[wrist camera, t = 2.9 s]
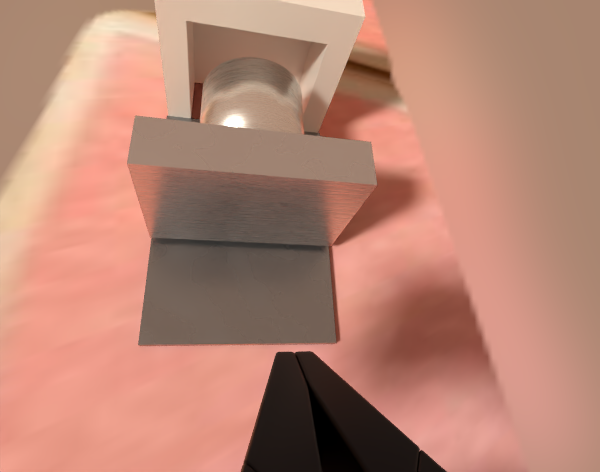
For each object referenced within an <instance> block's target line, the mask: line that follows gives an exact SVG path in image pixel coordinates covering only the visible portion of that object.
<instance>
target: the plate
mask: <svg viewBox="0 0 600 472" xmlns="http://www.w3.org/2000/svg"><path fill="white" fill-rule="evenodd" d="M167 119H170V120H179V121H188V122H197V123H200V119H192V118H183V117H174V116H167ZM304 135H313V136H320V133H315V132H306V131H304ZM335 343H336V333H335V320H334V308H333V295H332V283H331V270H330V258H329V246H316V245H295V244H274V243H253V242H232V241H211V240H190V239H169V238H152V239H151V247H150V255H149V263H148V271H147V279H146V287H145V295H144V303H143V311H142V319H141V327H140V335H139V343H138V345H139V346H189V345H285V344H335Z"/></svg>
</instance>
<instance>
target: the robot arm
mask: <svg viewBox="0 0 600 472" xmlns="http://www.w3.org/2000/svg"><path fill="white" fill-rule="evenodd" d="M419 450H420V449H419V447H418V446H417V445H416V444H415V443H414V442H412V441H411V440H410V439H409V438H408V437H407V436H406V435H405V434H404V433H402V432H401V431H400V430H399V429H398V428H397V427H396V426H395V425H394V424H392V423H391V422H390V421H389V420H388V419H387V418H386V417H385V416H383V415H382V414H381V413H380V412H379V411H378V410H377V409H376V408H375V407H373V406H372V405H371V404H370V403H369V402H368V401H367V400H366V399H365V398H363V397H362V396H361V395H360V394H359V393H358V392H357V391H356V390H354V389H353V388H352V387H351V386H350V385H349V384H348V383H347V382H346V381H344V380H343V379H342V378H341V377H340V376H339V375H338V374H337V373H336V372H334V371H333V370H332V369H331V368H330V367H329V366H328V365H327V364H326V363H324V362H323V361H322V360H321V359H320V358H319V357H318V356H317V355H315V354H314V353H313V352H310V351H306V352H296V353H295V354H294V353H293V352H278V353H276V356H275V359H274V362H273V366H272V369H271V373H270V376H269V379H268V383H267V386H266V389H265V393H264V396H263V399H262V403H261V406H260V409H259V413H258V416H257V419H256V423H255V426H254V429H253V433H252V436H251V440H250V443H249V446H248V450H247V453H246V456H245V460H244V464H243V466H242V469H241V472H446V471H445V470H444V469H443V468H442V467H441V466H440V465H438V464H437V463H436V462H435V461H434V460H433V459H432V458H430V457H429V456H428V455H427V454H426V453H425V452H424V451H422V450H421V451H420V452H419Z"/></svg>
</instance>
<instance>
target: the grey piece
mask: <svg viewBox="0 0 600 472" xmlns="http://www.w3.org/2000/svg"><path fill="white" fill-rule="evenodd" d="M127 165H128V168H129V171H130V174H131V178H132V181H133V184H134V187H135V190H136V194H137V197H138V200H139V203H140V207H141V210H142V213H143V216H144V219H145V223H146V226H147V229H148V232H149V235H150V238H169V239H190V240H211V241H232V242H253V243H274V244H295V245H316V246H332V244H333V243H334V242H335V240H336V239H337V238H338V236H339V235H340V234H341V232H342V231H343V230H344V228H345V227H346V226H347V224H348V223H349V222H350V220H351V219H352V218H353V217H354V215H355V214H356V213H357V211H358V210H359V209H360V207H361V206H362V205H363V203H364V202H365V201H366V199H367V198H368V197H369V195H370V194H371V193H372V191H373V190H374V189H375V187H376V186H377V179H376V172H375V166H374V159H373V152H372V145H371V142H366V141H357V140H349V139H340V138H331V137H322V136H313V135H304V123H303V107H302V93H301V88H300V85H299V83H298V81H297V80H296V78H295V77H294V76H293V75H292V74H291V72H289V71H288V70H287V69H286V68H284V67H283V66H281V65H279V64H277V63H275V62H273V61H270V60H267V59H262V58H256V57H242V58H235V59H231V60H228V61H226V62H223V63H221V64H220V65H218V66H217V67H215V68H214V69H213V70H212V71H211V72H210V73H209V74H208V76H207V77H206V79H205V81H204V84H203V90H202V102H201V115H200V123H197V122H188V121H179V120H170V119H161V118H152V117H143V116H135V119H134V125H133V131H132V137H131V143H130V149H129V155H128V161H127Z"/></svg>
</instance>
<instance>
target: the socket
mask: <svg viewBox="0 0 600 472" xmlns="http://www.w3.org/2000/svg"><path fill="white" fill-rule="evenodd" d="M154 2H155V10H156V18H157V26H158V34H159V42H160V51H161V59H162V67H163V75H164V83H165V91H166V100H167V108H168V116H174V117H183V118H191V117H192V106H193V95H194V84H195V82H196V83H203V84H204V81H205V79H206V77H207V76H208V74H209V73H210V72H211V71H212V70H213V69H214V68H215V67H217V66H218V65H220V64H221V63H223V62H226V61H228V60H231V59H235V58H242V57H256V58H262V59H267V60H270V61H273V62H275V63H277V64H279V65H281V66H283V67H284V68H286V69H287V70H288V71H289V72H291V74H292V75H293V76H294V77H295V78H296V80H297V81H298V83H299V85H300V88H301V93H302V107H303V123H304V131H306V132H315V133H318V132H319V130H320V127H321V125H322V122H323V120H324V117H325V115H326V112H327V110H328V108H329V105H330V103H331V100H332V98H333V95H334V93H335V90H336V88H337V85H338V83H339V80H340V78H341V75H342V73H343V71H344V68H345V66H346V63H347V61H348V58H349V56H350V53H351V51H352V48H353V46H354V43H355V41H356V38H357V36H358V33H359V31H360V29H361V26H362V24H363V21H364V19H365V13H364V7H363V1H362V0H154Z"/></svg>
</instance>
